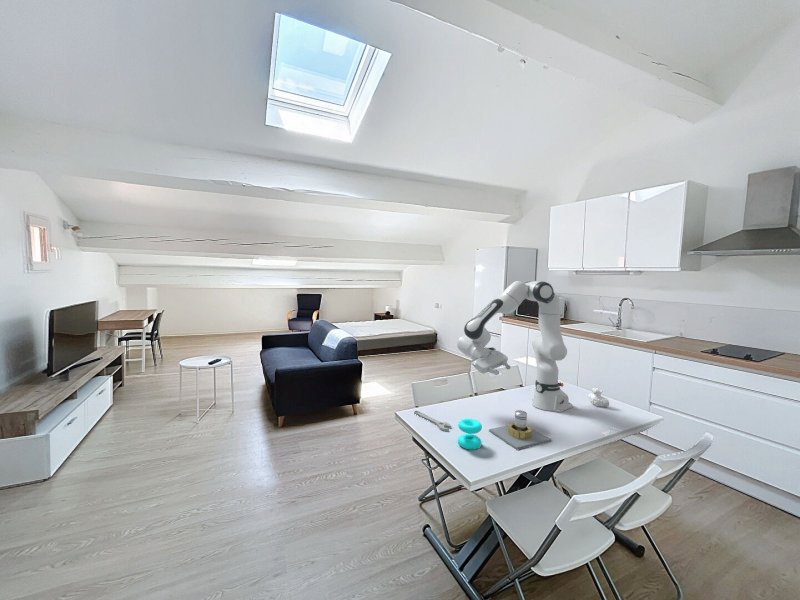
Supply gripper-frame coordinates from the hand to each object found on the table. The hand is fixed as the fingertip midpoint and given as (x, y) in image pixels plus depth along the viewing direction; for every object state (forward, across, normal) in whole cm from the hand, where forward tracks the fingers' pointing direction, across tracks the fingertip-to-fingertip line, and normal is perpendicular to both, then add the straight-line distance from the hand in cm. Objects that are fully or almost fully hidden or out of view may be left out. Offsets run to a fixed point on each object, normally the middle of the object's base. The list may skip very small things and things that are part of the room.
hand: (503, 370), depth 164 cm
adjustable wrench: (-12, -31, +29) cm, 44 cm away
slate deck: (+21, -9, +19) cm, 30 cm away
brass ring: (+21, -9, +19) cm, 30 cm away
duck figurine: (+29, +60, +27) cm, 72 cm away
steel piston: (+21, -9, +18) cm, 29 cm away
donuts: (+13, -34, +19) cm, 41 cm away
